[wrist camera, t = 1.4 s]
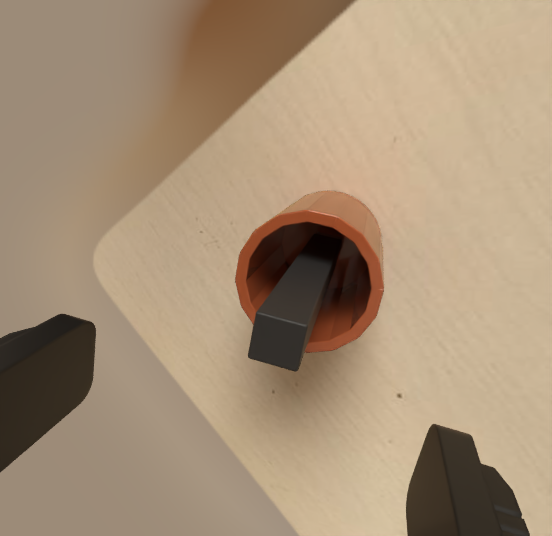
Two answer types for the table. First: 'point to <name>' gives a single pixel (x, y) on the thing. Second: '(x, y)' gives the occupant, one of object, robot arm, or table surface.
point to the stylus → (294, 305)
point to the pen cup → (347, 274)
